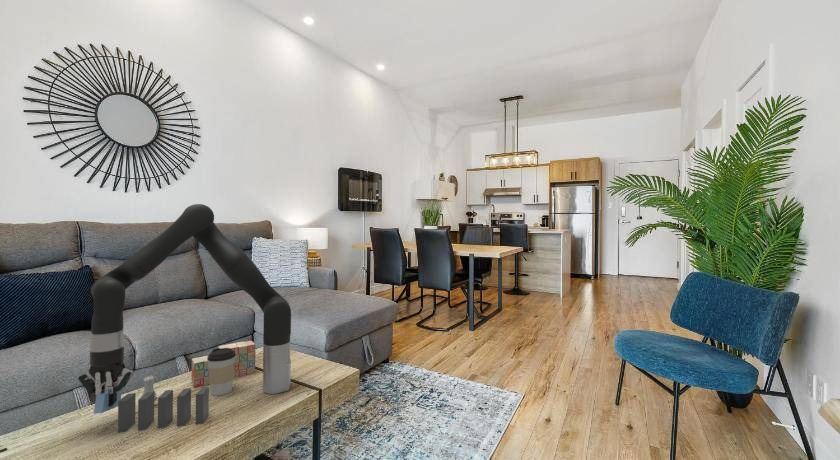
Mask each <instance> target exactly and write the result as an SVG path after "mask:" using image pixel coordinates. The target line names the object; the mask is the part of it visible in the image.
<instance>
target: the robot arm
mask: <svg viewBox="0 0 840 460" xmlns="http://www.w3.org/2000/svg"><path fill="white" fill-rule="evenodd" d="M214 221H215V214H214V212H213V210H212V208H211V207H209V206H208V205H206V204H201V203H195V204H192V205H189V206H187V207H186V208H185V209H184V211H182V213H181V215H180V216H179V217H178V218H177V219H176V220H175V221H174V222H173V223H172V224H171V225H170V226H169V227H167V229H165V230H164V231H163V232H161V234H159V235H158V236H157V237H155V238H153V239H152V240H151V241H150V242H148V243H147V244H146V245H144V246H142V247H141V248H140V249H138V250H137V251H135V252H134V253H133V254H132V255H131V256H129V257H128V258H127V259H126V260H124V261H123V262H122V263H121V264H120V265H118V266H117V267H115V268H113V269H112V270H111V271H109V272H107V273H106V274H104V275H102V276H101V277H100V278H99V279H97V280H96V281H95V282H94V283H93V284H92V286H91V288H90V293H91V296H92V298H93V315H92V319H91V331H90V332H91V333H90V334H91V335H90V341H89V367H90V368H89V369H88V371H87V372H84V373H83V374H81V375H79V376H78V378H77V379H78V381H79V382H80V384H81V385H82V386H83V387H84V388H85V390H86V391H87V393H88V394H95V396H96V395H97V394H100V393H103V392H106V388H107V391H108V393H109V407H111V406H112V405H114V403H115V402H116V401H117V391H120V390H121V389H122V390H123V388H125V387H126V385H127V384H128V382H129V381H130V380H131V378H132V377H133V375H134V373H135V369H128V368H126V365H125V363H124V360H125V333H124V332H125V331H124V307H125V303H126V290H127V289H128V288H129V287H130V286H131V285H133V284H135V282H139V281H140V280H142V279H144V278H145V277H147V276H148V275H149V274H150V273H152V272H153V271H154V270H155V269H156V268H158V267H159V266H160V265H161V264H162V263H163V262H165V260H167V258H168V257H169V256H171V254H173V252H175V251H176V250H177V249H178V248H179V247H180V246H181V245H183V244H184V243H185V242H187V241H188V240H189V239H191V238H192V237H193V239H195V240H196V241H197V242H198V243H199V244H201V245H202V247H204V249H205V250H206V251H207V253H209V255H210V257H212V260H214V261H215V263H216V264H217V265H218V266H219V268H221V270H222V271H223V272H224V274H225V275H226V276H227V277H228V278H229V279H230V280H231V281H232V282H233V283H234V284H235V285H236V286H237V287H238V288H240V289H241V290H242V291H243V292H246V294H248V295H249V296H250V297H251V298H252V299H253V300H254V301H255V302H256V304H257V305H258V306H259V308H260V309H261V311H262V314H263V337H262V339H263V342H262V343H263V344H262V345H263V347H262V348H263V349H262V352H263V355H262V357H263V358H262V391H263V393H265V394H267V395H269V394H271V395H273V394H274V395H275V394H280V393H283V392H287V391H289V390H290V387H291V383H292V382H291V377H292V376H291V374H292V371H291V370H292V369H291V368H292V365H291V362H292V361H291V334H292V333H291V332H292V308H291V306H290V303H289V302H288V301H287V299H285V297H283V296H282V295H281V294H279V292H277V291H276V289H274V288H273V287H272V286H271V284H269V282H268V281H267V280H266V278H265V276H264V275H263V273H262V272H261V270H260V269H259V268H258V267H257V265H256V264H255V262H254V261H253V260H252V259H251V258H250V257H249V256H248V255H247V254H246V252H245V251H243V249H241V248H240V247H239V246H237V245H236V244H235V243H234V242H232V241H231V240H230V239H228V238H227V237H226V236H225V235H224V233H222V232H221V230H220V229H219V228H218V227H217V225H216V224H215V222H214ZM121 374H122V375H121ZM120 376H122V379H121V380H120V379H119V377H120ZM119 381H120V382H119Z"/></svg>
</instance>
